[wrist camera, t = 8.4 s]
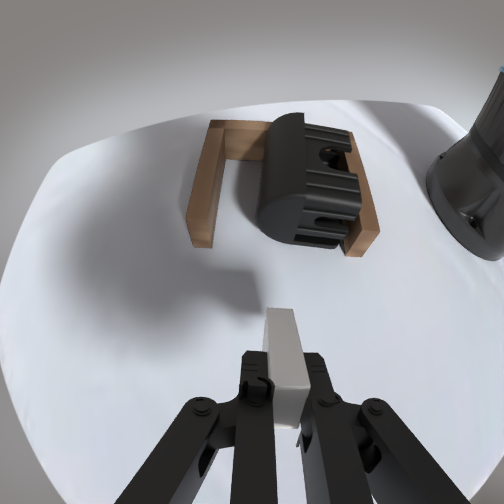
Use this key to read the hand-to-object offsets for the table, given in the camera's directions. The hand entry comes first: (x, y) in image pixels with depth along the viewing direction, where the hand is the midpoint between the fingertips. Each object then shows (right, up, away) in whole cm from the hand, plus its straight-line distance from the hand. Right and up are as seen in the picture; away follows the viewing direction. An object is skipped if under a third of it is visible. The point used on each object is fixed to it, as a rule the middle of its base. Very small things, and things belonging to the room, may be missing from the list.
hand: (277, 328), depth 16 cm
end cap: (+3, +9, +9) cm, 13 cm away
